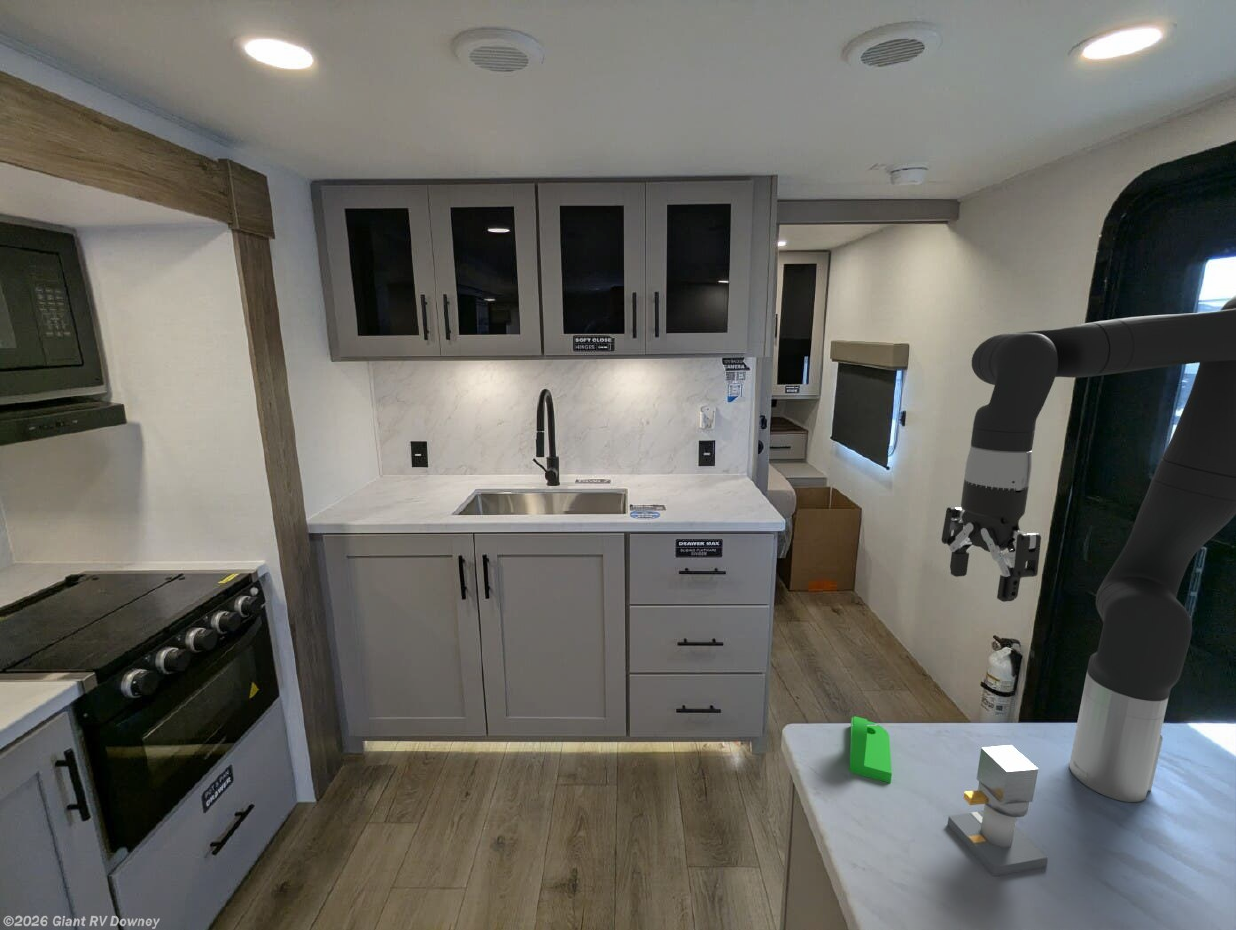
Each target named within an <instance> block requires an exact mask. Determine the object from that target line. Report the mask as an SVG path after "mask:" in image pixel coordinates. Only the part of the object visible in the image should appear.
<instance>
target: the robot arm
mask: <svg viewBox="0 0 1236 930" xmlns="http://www.w3.org/2000/svg"><path fill="white" fill-rule="evenodd" d="M1189 364H1198V368H1197V372H1196V375H1195V376H1194V377H1195V378H1194V381H1193V383H1192V387H1191V390H1190V392H1189V395H1188V397H1187V399H1186V402H1185V404H1184V407H1183V410H1182V411H1181V414H1180V417H1179V419H1178V422H1177V424H1176V427H1175V429H1174V431H1173V433H1172V436H1171V438H1170V441H1169V443H1168V444H1167V447H1166V449H1165V450H1164V452H1163V454H1162V456H1161V458H1160V460H1159V462H1158V465H1157V467H1156V470H1155V472H1154V474H1153V476H1152V478H1151V481H1150V483H1149V487H1148V489H1147V492H1146V494H1145V497H1144V499H1143V501H1142V504H1141V506H1140V508H1139V511H1138V513H1137V515H1136V519H1135V521H1134V524H1133V528H1132V529H1131V532H1130V535H1129V537H1128V540H1127V542H1126V544H1125V545H1124V547H1123V549H1122V550H1121V552H1120V554H1119V555H1118V557H1117V559H1116V560H1115V562H1114V563H1113V565H1112V567H1111V568H1110V570H1108V571H1109V572H1108V573H1107V574H1106V576H1105V578H1104V579H1103V581H1102V582H1101V584H1100V586H1099V588H1098V589H1097V593H1096V596H1095V607H1096V611H1097V613H1098V614H1099V616H1100V618H1101V620H1102V622H1103V624H1102V630H1101V634H1100V637H1099V638H1100V639H1099V643H1098V648H1097V650H1096V652H1093V653H1092V654H1091V655H1090V657H1089V659H1088V665H1087V669H1086V675H1085V680H1084V685H1083V691H1082V696H1081V702H1080V706H1079V712H1078V718H1077V722H1076V728H1075V731H1074V732H1075V733H1074V737H1073V743H1072V749H1071V754H1070V760H1069V766H1068V767H1069V770H1070V772H1071V773H1072V774H1073V776H1074V777H1075V778H1076V779H1077V780H1078V781H1080V783H1082V784H1083V785H1085V786H1086V787H1088V788H1089V789H1091V790H1093V791H1094V792H1096V793H1099V794H1101V795H1103V796H1105V797H1108V798H1110V799H1113V800H1117V801H1119V802H1125V803H1127V802H1128V803H1138V802H1139V803H1140V802H1142V801H1144V800H1145V799H1146V797H1147V794H1148V791H1152V788H1153V784H1154V778H1155V775H1156V771H1157V765H1158V761H1159V757H1160V753H1161V748H1162V744H1163V736H1162V729H1163V724H1164V719H1165V716H1166V711H1167V706H1168V701H1169V697H1170V693H1171V690H1172V688H1173V687H1174V686H1175V685H1176V684H1177V683H1178V682H1179V679H1180V677H1181V675H1182V672H1183V668H1184V664H1185V662H1186V658H1187V653H1188V650H1189V647H1190V643H1191V638H1192V632H1193V624H1192V622H1193V621H1192V618H1191V615H1190V613H1189V612H1188V611H1187V609H1186V608H1185V606H1184V605H1183V604H1182V603H1181V602H1180V601H1179V600H1178V599H1177V596H1178V592H1179V589H1180V586H1181V583H1182V581H1183V577H1184V575H1185V573H1186V571H1187V568H1188V566H1189V565H1190V562H1191V561H1192V559H1193V557H1194V556H1196V553H1197V552H1198V551H1199V550H1200V549H1201V548H1202V547H1203V546H1204V545H1205V544H1206V543H1207V542H1208V541H1210V540H1211V539H1212V538H1214V536H1215V535H1217V533H1219V532H1220V531H1221V530H1222V529H1223V528H1224V527H1225V526H1226V525H1227V524H1228V523H1230V521H1231V520H1232V519H1233V518H1234V517H1235V515H1236V295H1234V296H1232V297H1231V298H1230V299H1229V300H1227V301H1226V303H1224V305H1223V306H1222V307H1221V309H1220V310H1215V311H1204V312H1194V313H1178V314H1177V313H1176V314H1175V313H1174V314H1157V315H1144V316H1142V315H1141V316H1130V317H1123V318H1114V319H1108V320H1099V321H1093V322H1086V323H1081V324H1077V325H1072V326H1067V327H1063V328H1054V329H1053V328H1052V329H1042V330H1040V329H1039V330H1031V331H1029V330H1028V331H1020V332H1019V331H1018V332H1007V333H1002V334H997V335H993V336H991V337H989V338H987V339H985V340H984V341H983V342H981V343H980V344H979V345H978V347H976V349H975V350H974V352H973V354H972V358H971V368H972V371H973V373H974V374H975V376H976V377H977V378H978V379H980V380H981V381H982V382H984V383H986V384H990V385H993V386H994V387H993V390H992V392H991V397H990V400H989V402H988V404H985V405H982V406H980V407H979V408H977V411H976V412H975V415H974V419H973V424H972V431H971V440H970V447H969V450H968V454H967V458H966V462H965V468H964V469H965V470H964V477H963V486H962V491H961V492H962V493H961V501H960V505H961V506H949V507H946V511H945V516H944V522H943V529H942V533H941V542H942V544H944V545H945V544H946V545H948V547H949V550H950V551H951V555H950V563H949V567H950V568H949V570H950V575H952V576H953V577H956V578H959V577H966V575H967V574H968V566H969V565H968V564H969V558H970V553H969V552H968V551H970V550H971V549H972V548H973V547H978V548H981V549H983V550H984V551H985V552H988V553H990V555H991V557H992V559H993V560H994V561H995V562H996V563H997V564H998V566H999V569H1000V571H1001V574H1000V575H999V582H998V589H997V595H996V598H997V600H998V601H999V600H1000V602H1003V603H1004V602H1013V601H1014V600H1015V599H1017V597H1018V596H1019V590H1020V583H1021V579H1023V578H1031V577H1037V576H1038V574H1039V564H1040V563H1039V562H1040V561H1039V560H1040V552H1041V541H1042V536H1041V534H1040V533H1038V532H1026V531H1023V530H1021V528H1020V525H1019V521H1021V519H1022V518H1023V516H1024V515H1025V514H1026V506H1027V500H1028V495H1029V494H1028V493H1029V486H1030V482H1031V475H1032V474H1031V473H1032V467H1033V465H1032V463H1033V462H1032V454H1033V445H1034V440H1035V434H1036V433H1035V432H1036V423H1037V419H1038V417H1039V415H1040V414H1041V411H1042V410H1043V407H1044V406H1045V403H1046V401H1047V399H1048V396H1049V394H1050V392H1051V389H1052V386H1053V384H1054V382H1055V379H1056V378H1072V379H1073V378H1077V379H1078V378H1088V377H1089V378H1090V377H1097V376H1106V375H1113V374H1122V373H1129V372H1134V371H1135V372H1137V371H1144V370H1149V369H1152V370H1153V369H1158V368H1166V367H1167V368H1168V367H1173V366H1179V365H1180V366H1183V365H1189ZM952 532H953V534H952ZM1006 549H1007V551H1008V552H1003V551H1005V550H1006Z"/></svg>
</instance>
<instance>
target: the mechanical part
mask: <svg viewBox="0 0 1236 930" xmlns="http://www.w3.org/2000/svg"><path fill="white" fill-rule="evenodd" d="M875 724H877V723H875V722H873V721H869V720H868V719H867V718H862V717H860V716H854V715H853V717H851V723H850V744H849V745H850V746H849V747H850V748H849V749H850V750H849V773H852V774H857V775H860V776H864V777H867V778H870V779H874V780H877V781H882V782H886V783H889V784H891V783H892V774H893V772H892V771H893V770H892V760H891V759H892V758H891V744H890V735H889V733H888V731H887V730H886V729H885V728H884V727H883V726H881V725H880V724H878V725H877V726H867V725H875ZM851 725H853V726H851Z"/></svg>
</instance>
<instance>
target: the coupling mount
mask: <svg viewBox="0 0 1236 930" xmlns="http://www.w3.org/2000/svg"><path fill="white" fill-rule="evenodd" d="M983 805H984V807H983V810H979V811H973V812H972V811H971V812H966V813H960V814H955V815H949V816H948V819H947V826H948V827H949V828H950V829H951V831H952V832H953V833H954V834H955V835H956V836H957V837H958V838H959V839H960V840H961V842H962V843H963V844H964V845H965V846H966V847H967V848H968V849H969V851H971V853H972V854H973V855H974V856H975V857H976V858H977V859H978V861H979V862H980V863H981V864H982V865H983V866H984V867H985V869H987V870H988V872H989V873H990V874H991V875H992V876H993V877H996V876H1001V875H1007V874H1012V873H1017V872H1024V871H1027V870H1033V869H1039V868H1043V867H1047V864H1048V861H1049V860H1048V859H1049V856H1047V855H1046V854H1045V853H1044V852H1043V851H1042V850H1041V848H1039V847H1038V846H1037V845H1036V844H1035V843H1034V842H1033V841H1032V840H1031V839H1030V838H1029V837H1027V835H1026V834H1024V832H1023V831H1021V830H1020V828H1019V827H1017V826H1016V824H1017V818H1018V817H1009V816H1006V815H1003V814H1000V813H998V812H996V811H994V810H992V809H991V808H989V807H988V806H987V805H986V804H983Z"/></svg>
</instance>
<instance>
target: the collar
mask: <svg viewBox="0 0 1236 930" xmlns="http://www.w3.org/2000/svg"><path fill="white" fill-rule="evenodd" d="M1038 773H1039V768H1038V767H1037V766H1036V765H1034V763H1032V762H1031V761H1030V760H1029V759H1028V758H1027V757H1025V756H1024V755H1023V754H1022V753H1021V752H1019V751H1018V750H1017V749H1016V748H1015V747H1014V746H1013V745H1012V744H1009V745H997V746H983V747H982V746H981V749H980V755H979V761H978V768H977V774H976V780H977V781H978V785H977V790H969V791H964V793H963V799H964V800H965V801H966V802H967V804H968V805H969V806H976V805H985V804H986V805H987V806H988V807H989V808H991V809H992V810H994V811H996V812H998V813H1000V814H1003V815H1006V816H1009V817H1017V818H1022V817H1025V816H1026V815H1027V814H1028V812H1029V811H1028V810H1029V808H1030V807H1029V806H1030V803H1033V802H1034V797H1035V789H1036V785H1037V778H1038Z"/></svg>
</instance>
